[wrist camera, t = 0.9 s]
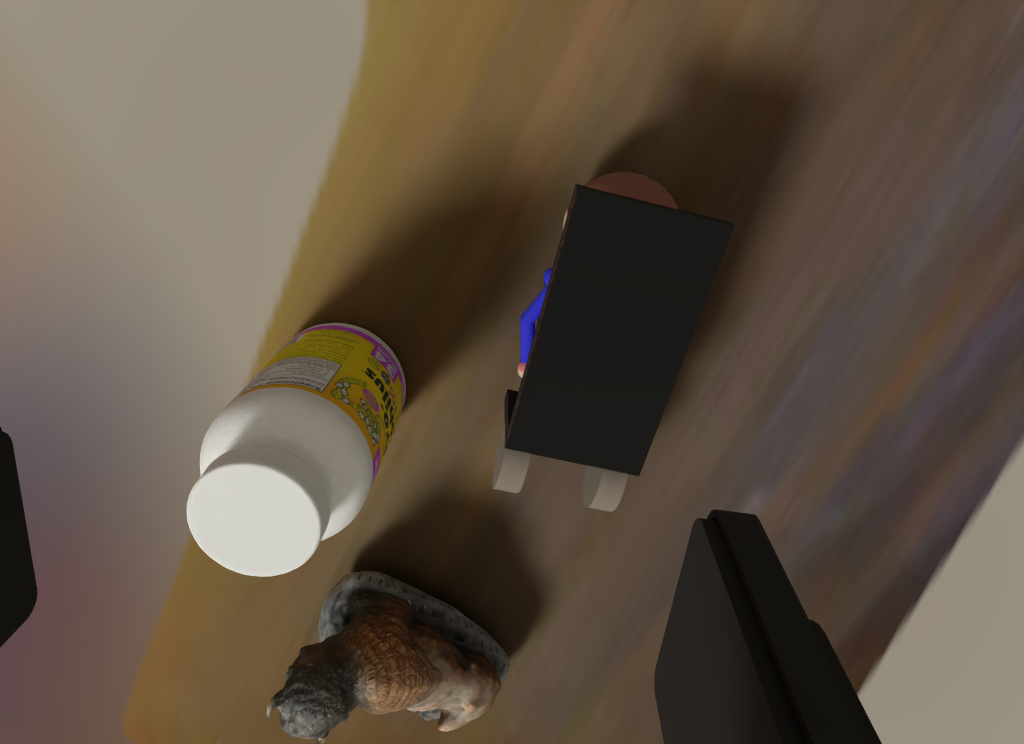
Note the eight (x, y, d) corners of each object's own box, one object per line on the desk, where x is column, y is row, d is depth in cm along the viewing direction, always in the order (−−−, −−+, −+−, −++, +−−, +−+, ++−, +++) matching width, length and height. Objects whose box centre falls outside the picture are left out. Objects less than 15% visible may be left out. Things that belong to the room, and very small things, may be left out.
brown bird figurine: (530, 628, 42) (530, 783, 33) (463, 700, 44) (445, 864, 35) (357, 526, 40) (304, 662, 30) (295, 607, 42) (229, 757, 33)
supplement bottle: (409, 441, 38) (353, 607, 26) (284, 434, 38) (170, 597, 26) (408, 320, 35) (344, 442, 23) (273, 313, 35) (142, 432, 23)
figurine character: (612, 450, 39) (706, 179, 32) (624, 546, 33) (747, 230, 25) (491, 425, 39) (559, 144, 32) (478, 517, 32) (561, 187, 25)
